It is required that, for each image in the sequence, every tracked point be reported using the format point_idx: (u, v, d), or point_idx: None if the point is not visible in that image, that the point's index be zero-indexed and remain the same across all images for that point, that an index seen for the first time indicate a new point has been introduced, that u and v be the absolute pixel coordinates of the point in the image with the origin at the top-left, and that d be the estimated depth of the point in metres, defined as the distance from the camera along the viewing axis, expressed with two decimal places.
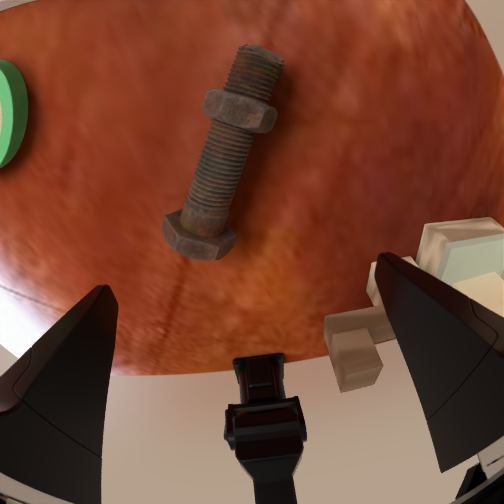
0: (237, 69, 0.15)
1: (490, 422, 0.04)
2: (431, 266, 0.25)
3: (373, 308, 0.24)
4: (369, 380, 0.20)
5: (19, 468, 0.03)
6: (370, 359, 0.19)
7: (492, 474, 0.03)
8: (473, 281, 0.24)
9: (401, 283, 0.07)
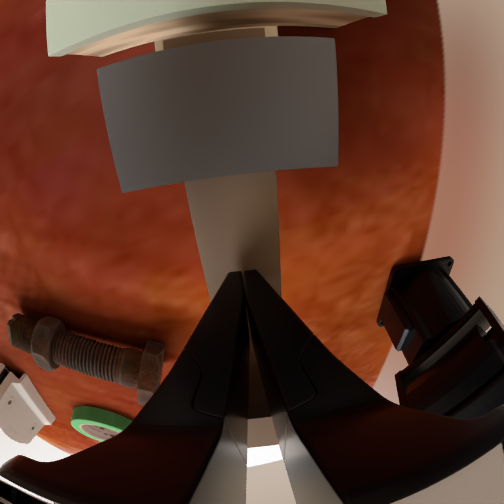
0: None
1: (305, 496, 0.04)
2: (149, 30, 0.08)
3: None
4: None
5: None
6: None
7: None
8: None
9: (247, 306, 0.07)
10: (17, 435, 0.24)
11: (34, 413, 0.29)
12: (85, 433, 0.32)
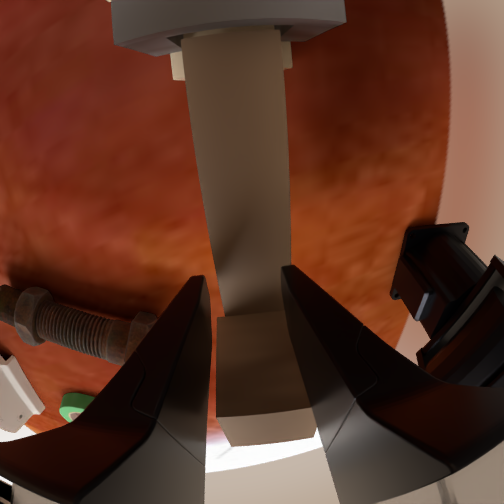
0: None
1: (365, 481, 0.04)
2: None
3: None
4: (287, 419, 0.07)
5: None
6: None
7: None
8: None
9: (291, 301, 0.07)
10: (3, 423, 0.22)
11: (22, 400, 0.27)
12: None
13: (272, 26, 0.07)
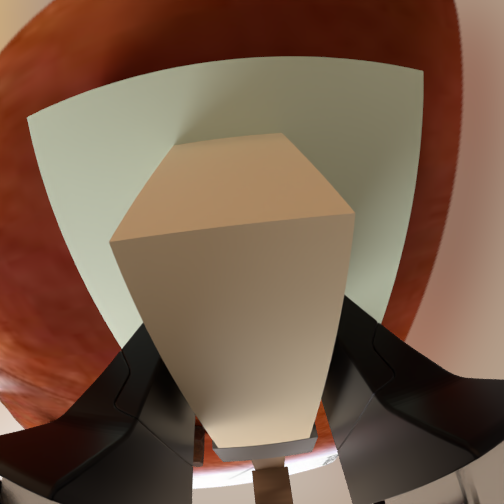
0: None
1: (381, 476, 0.04)
2: None
3: None
4: None
5: None
6: (256, 502, 0.17)
7: None
8: None
9: None
10: None
11: None
12: None
13: None
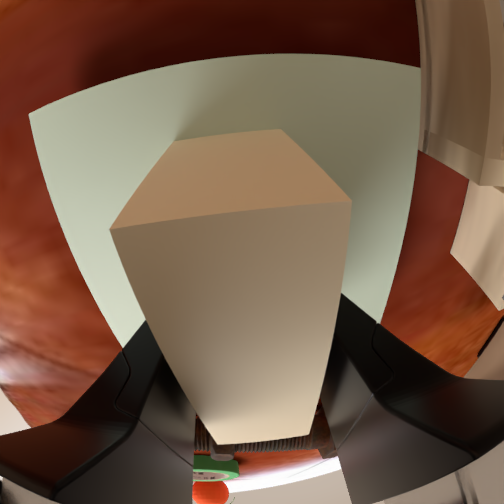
0: None
1: (381, 476, 0.04)
2: None
3: None
4: None
5: None
6: None
7: None
8: None
9: None
10: None
11: None
12: None
13: None
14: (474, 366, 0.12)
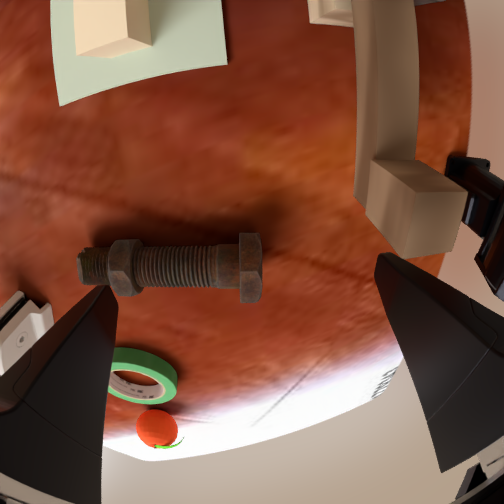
0: (101, 284, 0.21)
1: (490, 422, 0.04)
2: None
3: (358, 119, 0.13)
4: (449, 207, 0.09)
5: (19, 468, 0.03)
6: (401, 202, 0.10)
7: (492, 474, 0.03)
8: None
9: (401, 283, 0.07)
10: None
11: None
12: (109, 387, 0.32)
13: None
14: (358, 87, 0.12)
